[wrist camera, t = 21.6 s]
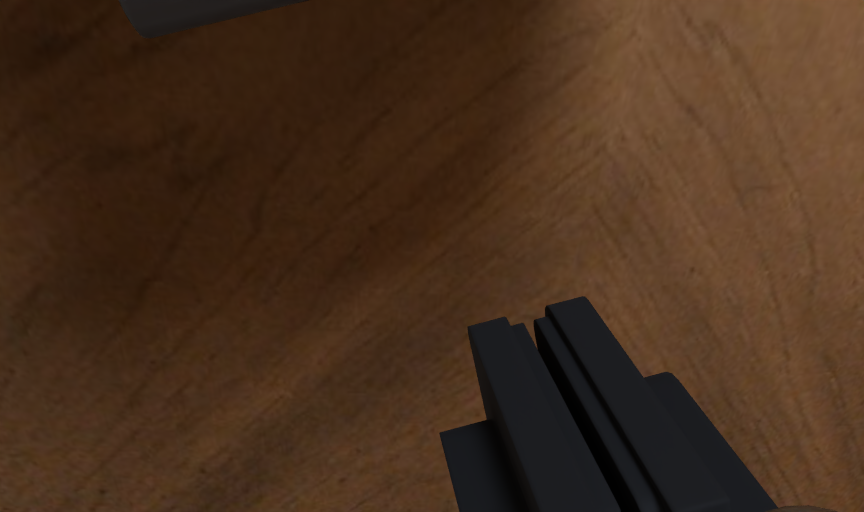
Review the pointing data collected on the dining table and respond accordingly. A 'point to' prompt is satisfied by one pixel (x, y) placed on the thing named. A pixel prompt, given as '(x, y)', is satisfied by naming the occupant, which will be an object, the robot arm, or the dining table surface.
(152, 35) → the drawer
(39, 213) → the dining table surface
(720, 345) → the dining table surface
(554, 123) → the dining table surface
